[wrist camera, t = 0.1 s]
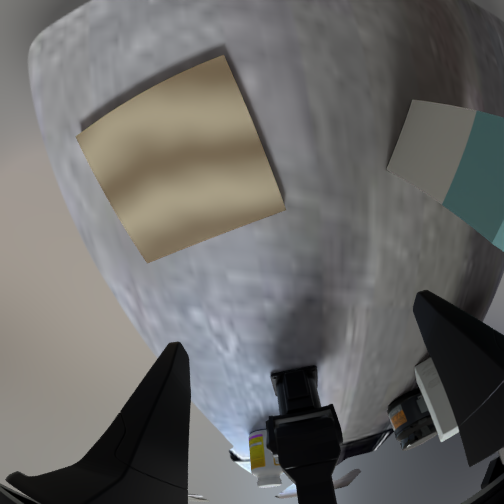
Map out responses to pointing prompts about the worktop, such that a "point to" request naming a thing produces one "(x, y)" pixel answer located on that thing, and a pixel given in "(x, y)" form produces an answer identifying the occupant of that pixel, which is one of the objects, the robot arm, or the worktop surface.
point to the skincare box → (436, 399)
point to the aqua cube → (481, 180)
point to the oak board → (182, 161)
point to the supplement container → (411, 420)
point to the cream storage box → (431, 146)
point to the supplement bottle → (263, 461)
